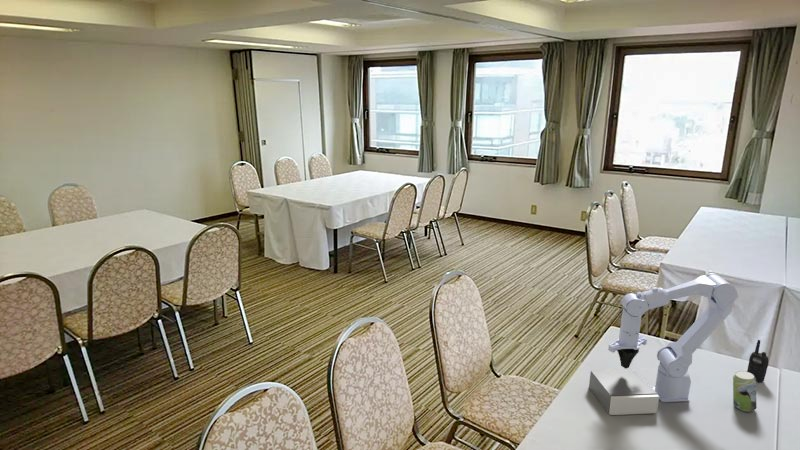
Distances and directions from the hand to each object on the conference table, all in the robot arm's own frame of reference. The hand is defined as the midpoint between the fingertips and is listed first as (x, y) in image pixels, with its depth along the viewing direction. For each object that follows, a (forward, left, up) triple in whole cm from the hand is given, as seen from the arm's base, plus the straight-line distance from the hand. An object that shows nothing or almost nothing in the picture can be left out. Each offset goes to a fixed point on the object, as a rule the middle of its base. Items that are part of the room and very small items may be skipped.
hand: (624, 366), depth 160 cm
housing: (+2, +4, -9) cm, 11 cm away
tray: (+3, +5, -9) cm, 11 cm away
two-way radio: (-51, -4, -10) cm, 52 cm away
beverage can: (-34, +11, -10) cm, 37 cm away
